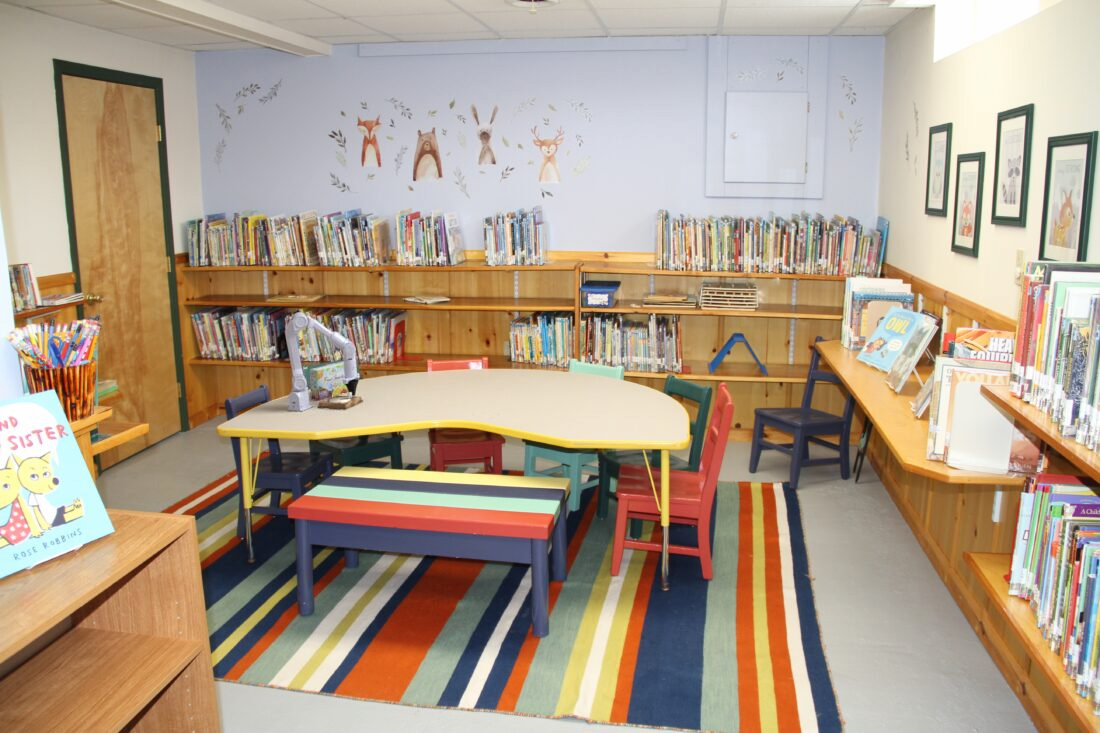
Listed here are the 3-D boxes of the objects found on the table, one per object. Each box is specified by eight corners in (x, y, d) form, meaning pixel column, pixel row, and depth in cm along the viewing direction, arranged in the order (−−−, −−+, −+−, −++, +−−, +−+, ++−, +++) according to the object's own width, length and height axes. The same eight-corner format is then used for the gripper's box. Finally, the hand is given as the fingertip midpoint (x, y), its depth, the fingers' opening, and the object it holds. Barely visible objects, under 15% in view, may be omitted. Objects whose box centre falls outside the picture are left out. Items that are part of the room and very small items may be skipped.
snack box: (319, 401, 416) (316, 370, 413) (311, 399, 419) (308, 369, 416) (352, 391, 433) (349, 361, 430) (344, 390, 436) (341, 361, 433)
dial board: (345, 409, 397) (345, 403, 397) (317, 408, 402) (317, 402, 402) (363, 401, 411) (362, 396, 411) (335, 400, 416) (335, 394, 415)
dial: (328, 405, 401) (327, 396, 400) (329, 400, 410) (329, 391, 409) (352, 403, 403) (351, 394, 402) (352, 398, 412) (351, 390, 411)
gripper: (351, 370, 399) (354, 399, 402) (364, 364, 413) (366, 392, 416) (337, 370, 401) (339, 399, 403) (350, 364, 415) (352, 391, 417)
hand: (352, 395), depth 410 cm, fingers closed
